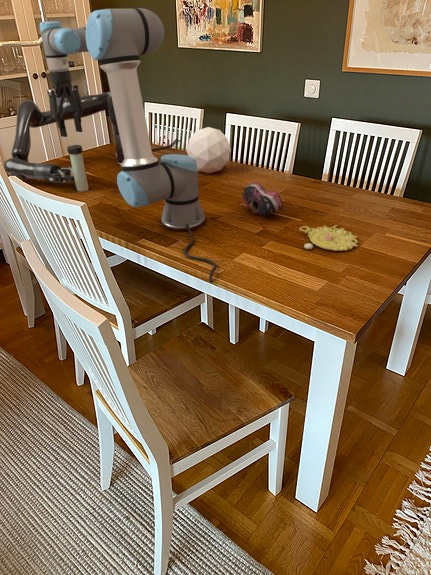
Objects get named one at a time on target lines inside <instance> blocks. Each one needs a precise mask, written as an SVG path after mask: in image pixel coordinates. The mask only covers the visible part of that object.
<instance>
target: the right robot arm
mask: <svg viewBox="0 0 431 575" xmlns="http://www.w3.org/2000/svg"><path fill="white" fill-rule="evenodd" d="M62 25H63V24H62V22H60V21H58V20H54V21H53V20H52V21H51V20H50V21H41V22H39V31H40V33H39V34H40V36H41V41H42V45H43V51H44V54H45V59H46V64H47V69H48V71H49V72H48V75H49V79H50V82H51V83H52V88H51V89H47V90H46V93H47V96H48V102H49V111H50V112H51V118H54V119H56V121H57V122H56V125H57V128H58V129H59V134H60V137H62V138H68V133H67V127H66V122H65V121H64V119H62V111H63V101H64V99H66V98H67V100H68V102H69V104H70V106H71V108H72V110H73V111H74V113H75V114H73V118H74V119H73V123H74V128H75V132H77V133H83V126H82V118H81V116H80V114H82V112H83V111H84V109H83V106H82V102H81V99H80V96H81V95H80V91H79V85H78V84H72V79H73V78H72V73H71V71H70V70H69V69H70V63H69V58H68V55H74V54H79V53H89V56H90V58H92V59H93V60H95V61H98V66H99V68H100V69H101V70H102V71H104V73H106V77H107V82H108V87H109V91H110V92H111V97H112V101H113V106H114V111H115V116H116V120H117V125H118V130H119V135H120V139H121V144H122V149H123V154H124V161H123V162H122V164H121V165H120V168H121V171H120V172H119V173H118V174H117V176H116V183H117V187H118V190H119V192H120V194H121V196H122V198H123V200H124V201H125V202H126V203H127V204H128V205H129V206H130V207H132V208H141V207H148V206H150V205H152V204H156V203H159V202H162V201H164V204H163V209H162V213H161V219H160V220H161V225H162V227H163V228H165V229H167V230H170V231H175V232H176V231H177V232H185V231H186V232H187V233H188V235H189V237H190V242H189V244H188V245H187V246H185V247H184V249H183V255H184V256H185V257H187V258H189V259H192V260H197V261H202V262H207V263H209V264H211V265H212V266H213V267H212V269H211V270H210V272H209V274H208V280H209V281H208V283H209V284H212V283H213V275H214V272H215V271H216V270H217V264H216V262H214V261H213V260H211V259H209V258H205V257H199V256H193V255H191V254H188V253H187V251H188V249H189V248H191V247H192V246H193V244H194V235H193V234H192V230H195V229H198V228H201V227H202V226H203V225H204V224H205V223H206V215H205V212H204V210H203V208H202V204H201V202H200V196H199V176H198V173H199V171H198V170H197V163H196V160H195V159H194V158H192V157H190V156H188V155H187V154H186V155H185V154H178V153H177V154H175V153H174V154H173V153H171V154H165V155H162V156H161V157H160V162H159V158H157V157H156V156H154V155H153V151H151V149H152V145H151V141H150V134H149V130H148V124H147V119H146V113H145V108H144V102H143V96H142V92H141V87H140V82H139V80H140V79H139V76H138V70H137V69H138V67H139V65H140V64H141V58H140V56H147V55H150V54H152V53H154V52H156V51H157V50H159V49H160V47H161V46H162V44H163V42H164V39H165V27H164V24H163V22H162V20H161V18H160V17H159V15H157V14H156V13H155V12H153V11H151V10H149V9H147V8H141V7H137V8H103V9H97V10H94V11H92V12H90V13H89V15H88V17H87V20H86V24H85V26H83V27H63V26H62ZM58 115H59V116H58Z"/></svg>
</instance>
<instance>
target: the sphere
mask: <svg viewBox="0 0 431 575" xmlns="http://www.w3.org/2000/svg"><path fill="white" fill-rule="evenodd" d="M231 151H232V149H231V145H230V143H229V140H228V138H227V136H226V135H225V134H224V133H223V131H221V129H218V128H213V127H210V126H206V127H204V128H200V129H198V130H195V132H194V133H193V134H192V135H191V136H190V137H189V140H188V143H187V147H186V155H187V156H190V157H192V158H194V159H195V160H196V163H197V170H198V172H203V173H206V174H212V173H215V172H218V171H221V170H222V169H223V168H224V166H226V164H227V163H228V161H229V158H230V155H231Z"/></svg>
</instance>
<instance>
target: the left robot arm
mask: <svg viewBox="0 0 431 575" xmlns="http://www.w3.org/2000/svg"><path fill="white" fill-rule="evenodd" d="M80 99H81V102H82V106H83V109H84V111H83V112H82V114H80V116H81V119H82V118H85V117H89V116H93V115H96V114H98V113H100V112H104V111H108V115H109V121H110V123H111V126H112V127H111V128H112V135H113V141H114V142H113V143H114V150H115V153H114V154H115V157H116V163H117V165H118V166H121V164H122V162H123V161H124V154H123V149H122V144H121V139H120V135H119V130H118V125H117V120H116V116H115V111H114V106H113V101H112V97H111V92H110V90H109V91H106V92H103V93H98V94H87V95H80ZM73 114H75V113H74V111H73V110H72V108H71V106H70V104H69V102H68V100H67V98H65V99H64V101H63V111H62V119H64V122H65V121H70V120H74V118H73ZM58 116H59V115H58ZM55 123H57V121H56V119H54V118H51V112H50V110H46V111H41V109H40V108H39V106H38V105H37V104H36V103H35V101H33V100H31V99H25V100H23V101H22V100H21V102H20V103H19V104H18V105H17V110H16V124H15V136H14V139H13V144H12V148H11V151H10V152H11V153H10V154H11V157H10V158H7V159H6V160H5V161H4V162H3V169H4V171H5V172H6V173H7V174H8V175H9V176H10V177H12V176H16V177H18V178H19V179H21V180H22V181H21V182H23V181H25V180H26V179H29V180H35V181H40V182H48V183H56V184H62V183H66V182H71V183H75V178H74V173H73V168H72V165H67V166H66V167H60V166H59V164H56V163H46V162H39V163H37V162H30V161H29V156H30V151H31V146H32V138H31V129H36V128H41V127H45V126H49V125H51V124H55ZM178 139H179V138H175V139H174V140H173V141H172V142H171V143H170V144H169V145H165V146H161V147H156V148H151V151H152V152H154V151H159V150H164V149H165V150H166V149H169V148H170V147H172V146H174V145H175V144H176V142H180V139H179V140H178ZM85 173H86V174H87V170H86V169H85Z"/></svg>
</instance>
